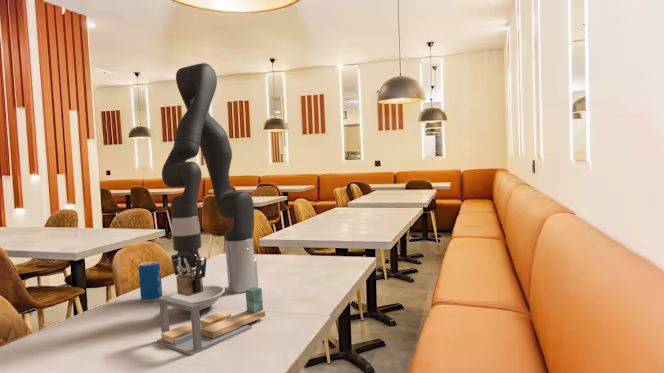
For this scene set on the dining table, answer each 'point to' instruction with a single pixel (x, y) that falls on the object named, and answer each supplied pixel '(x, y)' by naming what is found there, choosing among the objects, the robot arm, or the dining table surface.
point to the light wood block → (214, 318)
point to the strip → (239, 315)
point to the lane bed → (195, 339)
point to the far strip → (178, 332)
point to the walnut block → (186, 285)
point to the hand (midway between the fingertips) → (190, 291)
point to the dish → (203, 296)
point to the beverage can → (150, 281)
